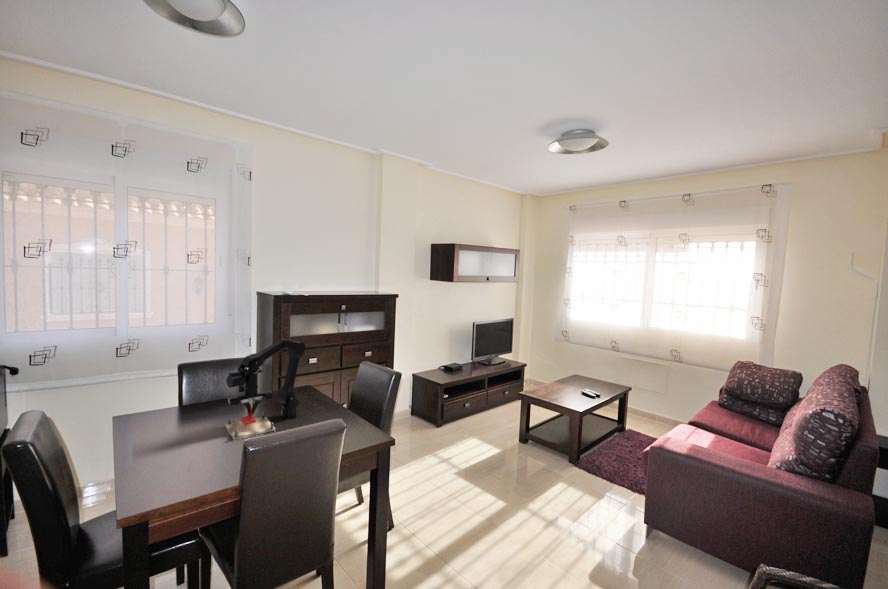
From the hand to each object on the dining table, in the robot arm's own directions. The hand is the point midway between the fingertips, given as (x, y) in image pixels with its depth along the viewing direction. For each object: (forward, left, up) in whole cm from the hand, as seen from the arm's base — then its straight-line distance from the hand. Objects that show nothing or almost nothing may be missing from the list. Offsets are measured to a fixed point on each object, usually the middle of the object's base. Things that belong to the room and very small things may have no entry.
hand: (250, 414), depth 188 cm
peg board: (0, 0, -7) cm, 7 cm away
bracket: (+1, 0, -3) cm, 3 cm away
